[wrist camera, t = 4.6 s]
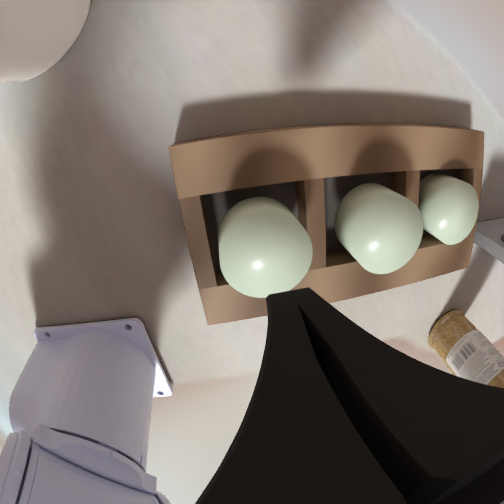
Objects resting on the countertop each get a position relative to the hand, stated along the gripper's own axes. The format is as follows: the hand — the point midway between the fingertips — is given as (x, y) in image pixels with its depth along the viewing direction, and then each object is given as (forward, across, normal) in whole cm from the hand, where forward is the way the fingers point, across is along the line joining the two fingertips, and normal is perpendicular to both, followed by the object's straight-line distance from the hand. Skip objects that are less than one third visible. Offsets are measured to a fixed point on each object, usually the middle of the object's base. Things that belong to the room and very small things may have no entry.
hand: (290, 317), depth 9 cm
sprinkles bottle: (+9, -17, +13) cm, 23 cm away
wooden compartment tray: (+9, -6, 0) cm, 10 cm away
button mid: (+7, -6, 0) cm, 9 cm away
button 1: (+8, -12, 0) cm, 14 cm away
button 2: (+7, 0, 0) cm, 7 cm away
